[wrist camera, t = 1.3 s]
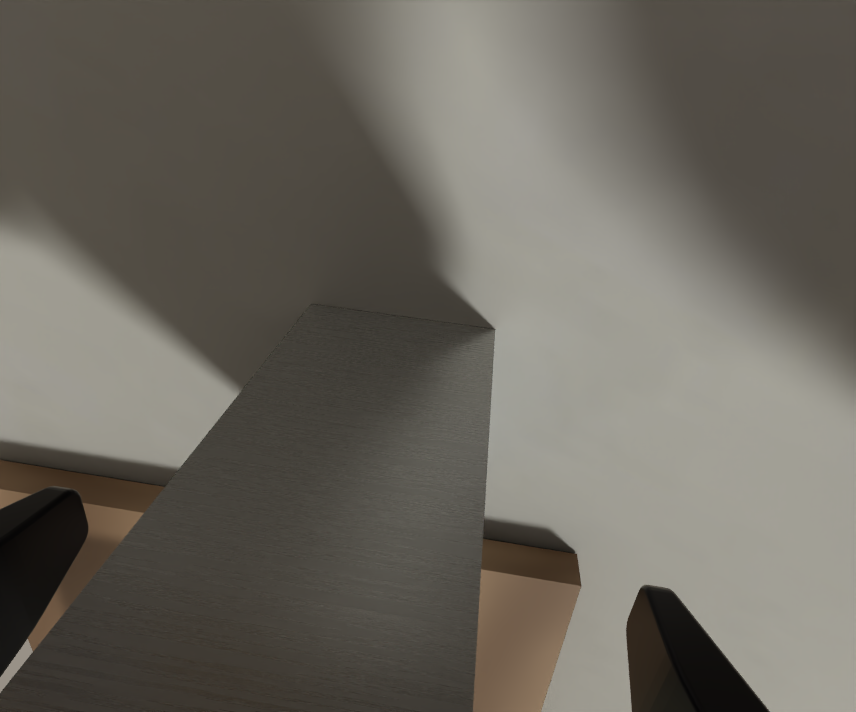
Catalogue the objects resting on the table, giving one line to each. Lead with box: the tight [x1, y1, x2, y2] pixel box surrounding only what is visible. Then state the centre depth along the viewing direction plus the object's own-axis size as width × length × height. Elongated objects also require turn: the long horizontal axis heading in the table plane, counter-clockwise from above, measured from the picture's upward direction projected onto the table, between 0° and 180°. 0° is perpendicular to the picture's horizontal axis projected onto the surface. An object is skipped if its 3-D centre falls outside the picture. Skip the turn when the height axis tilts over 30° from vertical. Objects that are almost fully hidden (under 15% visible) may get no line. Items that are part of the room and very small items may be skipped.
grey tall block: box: [0, 304, 495, 712], centre depth 9 cm, size 4×4×9 cm
